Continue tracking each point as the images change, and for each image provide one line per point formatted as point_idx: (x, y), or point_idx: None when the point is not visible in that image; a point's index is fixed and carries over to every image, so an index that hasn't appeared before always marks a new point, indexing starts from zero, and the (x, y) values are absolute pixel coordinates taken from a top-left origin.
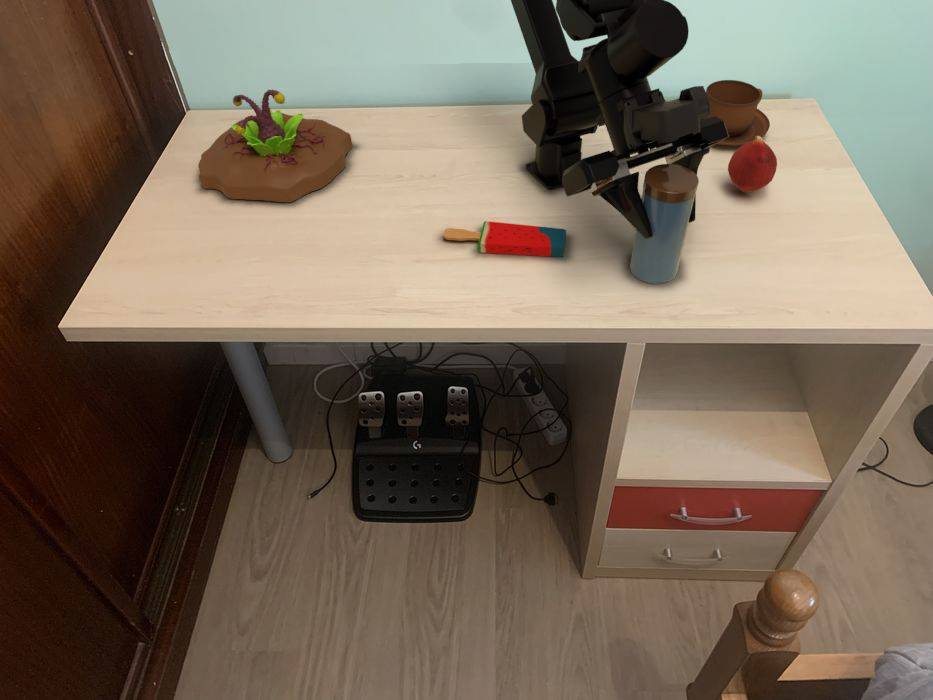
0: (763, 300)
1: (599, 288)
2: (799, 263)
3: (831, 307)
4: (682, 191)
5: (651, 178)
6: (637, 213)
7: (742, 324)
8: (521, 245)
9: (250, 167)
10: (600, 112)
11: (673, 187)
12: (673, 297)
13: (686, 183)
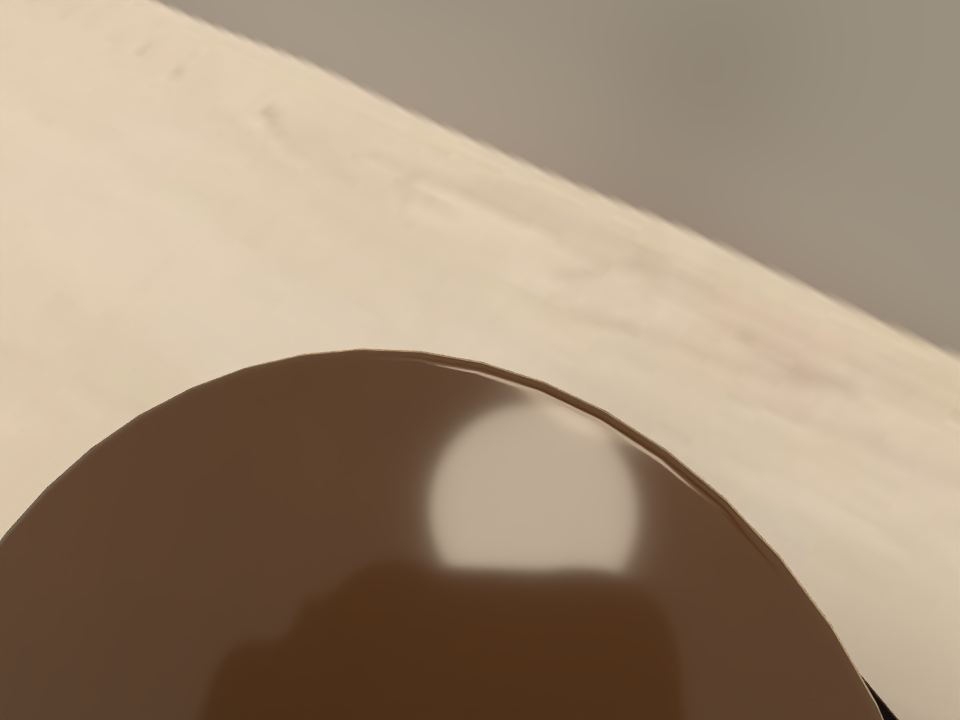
0: (296, 196)
1: (849, 575)
2: (56, 292)
3: (151, 84)
4: (462, 385)
5: None
6: (881, 709)
7: (443, 130)
8: None
9: None
10: None
11: (518, 592)
12: (571, 357)
13: (230, 558)
